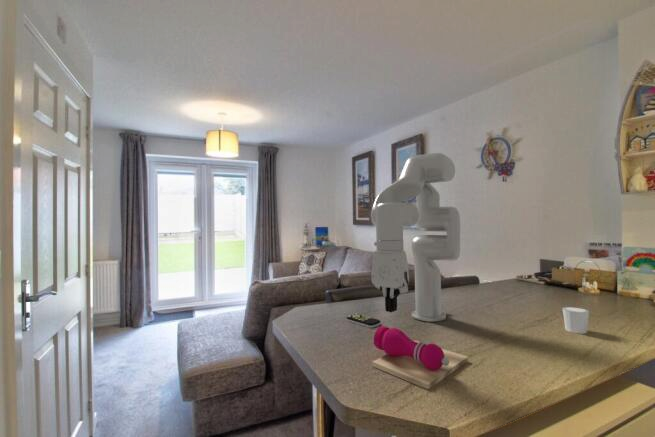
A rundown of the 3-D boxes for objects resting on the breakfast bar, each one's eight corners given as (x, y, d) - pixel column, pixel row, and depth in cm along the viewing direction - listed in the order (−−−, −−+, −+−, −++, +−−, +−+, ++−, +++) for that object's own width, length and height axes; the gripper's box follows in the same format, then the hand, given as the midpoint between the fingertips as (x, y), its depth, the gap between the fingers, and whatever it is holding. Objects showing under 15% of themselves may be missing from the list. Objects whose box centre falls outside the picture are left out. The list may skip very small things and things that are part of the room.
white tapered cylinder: (583, 328, 106) (583, 307, 106) (593, 335, 100) (592, 313, 100) (559, 326, 109) (559, 305, 109) (567, 333, 102) (567, 311, 102)
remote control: (371, 329, 111) (371, 323, 111) (345, 321, 120) (345, 316, 120) (382, 325, 115) (382, 319, 115) (356, 317, 124) (355, 312, 124)
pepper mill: (390, 326, 92) (457, 348, 77) (384, 351, 90) (452, 379, 76) (376, 321, 87) (445, 345, 73) (369, 348, 86) (438, 378, 71)
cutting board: (414, 344, 96) (414, 340, 96) (467, 361, 84) (467, 356, 84) (372, 366, 82) (372, 361, 82) (428, 389, 70) (428, 384, 70)
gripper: (361, 245, 93) (362, 308, 93) (404, 248, 82) (406, 319, 82) (377, 244, 98) (378, 303, 98) (420, 246, 87) (421, 313, 87)
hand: (391, 310), depth 90 cm, fingers closed
